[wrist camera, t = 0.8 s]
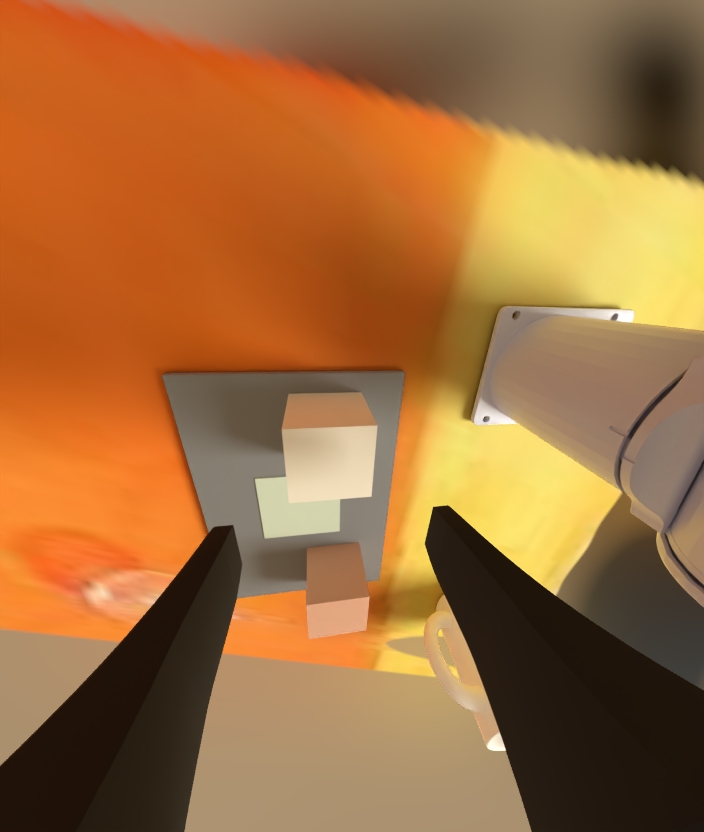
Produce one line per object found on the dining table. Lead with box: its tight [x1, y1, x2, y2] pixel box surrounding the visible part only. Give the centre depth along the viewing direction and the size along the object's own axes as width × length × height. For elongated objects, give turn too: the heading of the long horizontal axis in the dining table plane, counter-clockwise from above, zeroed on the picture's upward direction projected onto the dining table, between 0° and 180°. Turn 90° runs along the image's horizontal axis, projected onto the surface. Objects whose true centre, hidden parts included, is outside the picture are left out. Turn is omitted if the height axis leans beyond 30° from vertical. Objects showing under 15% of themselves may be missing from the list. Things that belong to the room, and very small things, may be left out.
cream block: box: [282, 392, 378, 503], centre depth 15 cm, size 4×4×4 cm
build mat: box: [162, 370, 405, 598], centre depth 20 cm, size 14×21×1 cm, turn 178°
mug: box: [424, 594, 506, 751], centre depth 26 cm, size 12×8×10 cm
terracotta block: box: [306, 543, 370, 639], centre depth 21 cm, size 4×4×4 cm
